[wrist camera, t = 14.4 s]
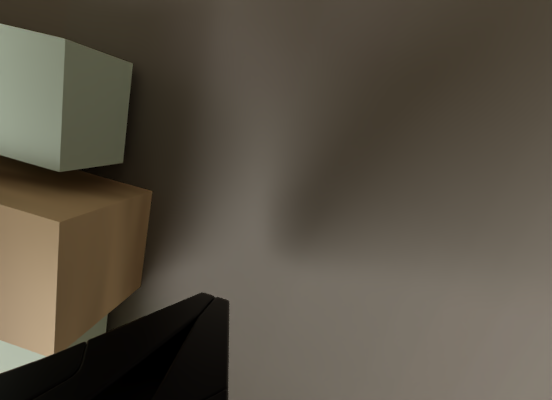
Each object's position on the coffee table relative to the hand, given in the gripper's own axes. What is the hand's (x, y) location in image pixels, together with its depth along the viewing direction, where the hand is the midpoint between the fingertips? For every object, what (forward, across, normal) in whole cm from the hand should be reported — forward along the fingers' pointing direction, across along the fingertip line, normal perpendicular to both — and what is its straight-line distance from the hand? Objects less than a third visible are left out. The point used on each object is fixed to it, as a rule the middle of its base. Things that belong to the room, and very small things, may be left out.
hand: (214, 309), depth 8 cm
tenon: (+2, +7, 0) cm, 8 cm away
